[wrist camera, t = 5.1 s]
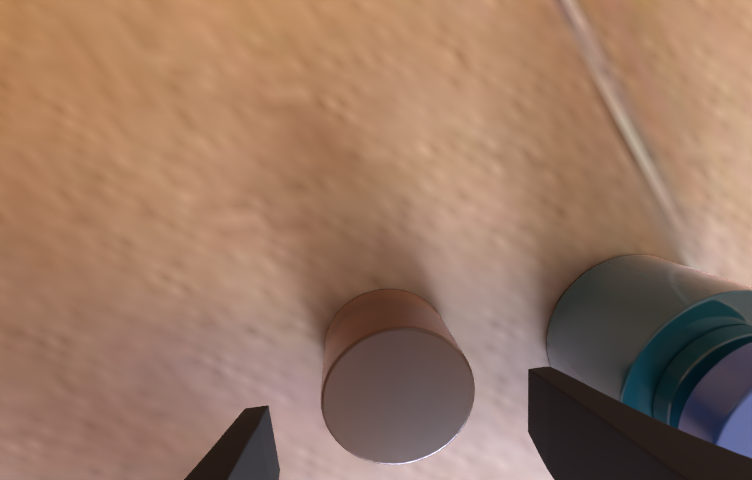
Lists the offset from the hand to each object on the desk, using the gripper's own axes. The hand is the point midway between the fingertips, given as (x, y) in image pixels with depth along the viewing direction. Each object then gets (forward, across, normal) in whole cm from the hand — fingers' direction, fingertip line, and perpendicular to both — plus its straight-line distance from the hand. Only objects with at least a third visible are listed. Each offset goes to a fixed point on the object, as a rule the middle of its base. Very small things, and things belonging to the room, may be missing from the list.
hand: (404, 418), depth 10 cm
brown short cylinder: (+4, 0, 0) cm, 4 cm away
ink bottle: (+4, -10, +1) cm, 10 cm away
